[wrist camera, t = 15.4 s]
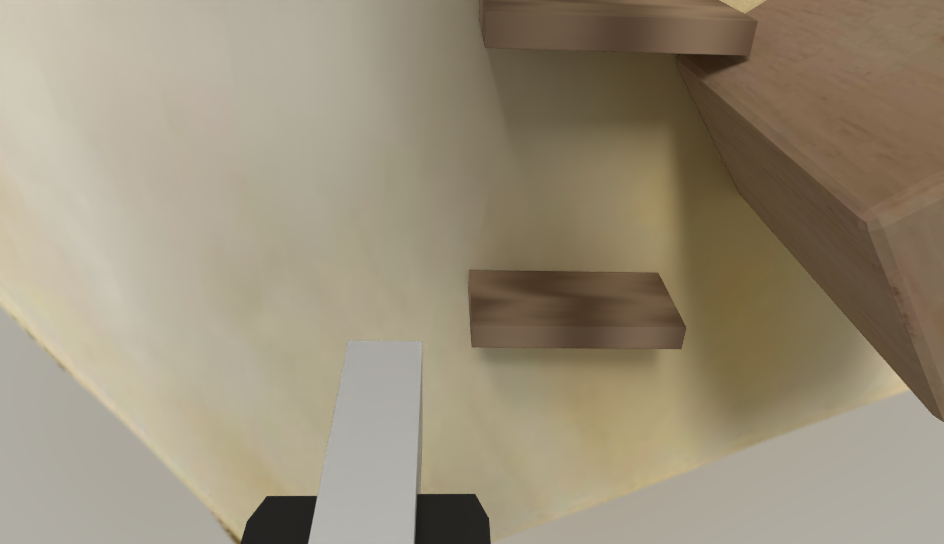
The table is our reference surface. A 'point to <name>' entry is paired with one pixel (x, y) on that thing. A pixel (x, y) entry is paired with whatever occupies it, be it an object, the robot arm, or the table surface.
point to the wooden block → (846, 159)
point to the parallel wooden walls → (593, 293)
